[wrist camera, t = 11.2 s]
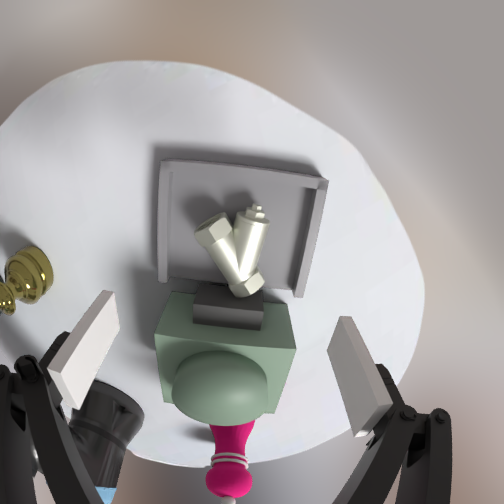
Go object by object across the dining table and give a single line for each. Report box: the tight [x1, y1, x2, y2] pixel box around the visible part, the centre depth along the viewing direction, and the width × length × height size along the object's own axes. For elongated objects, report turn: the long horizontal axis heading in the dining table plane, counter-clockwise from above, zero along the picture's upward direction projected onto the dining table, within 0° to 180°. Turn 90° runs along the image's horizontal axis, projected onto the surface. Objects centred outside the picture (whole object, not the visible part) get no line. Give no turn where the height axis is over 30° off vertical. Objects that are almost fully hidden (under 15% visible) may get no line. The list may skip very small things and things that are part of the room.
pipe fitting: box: [194, 203, 270, 297], centre depth 27 cm, size 8×4×7 cm
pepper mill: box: [206, 420, 255, 504], centre depth 31 cm, size 7×7×20 cm
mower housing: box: [154, 283, 296, 426], centre depth 30 cm, size 14×14×11 cm
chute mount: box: [157, 159, 329, 298], centre depth 28 cm, size 13×16×2 cm
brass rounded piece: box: [0, 246, 53, 316], centre depth 26 cm, size 7×7×10 cm
